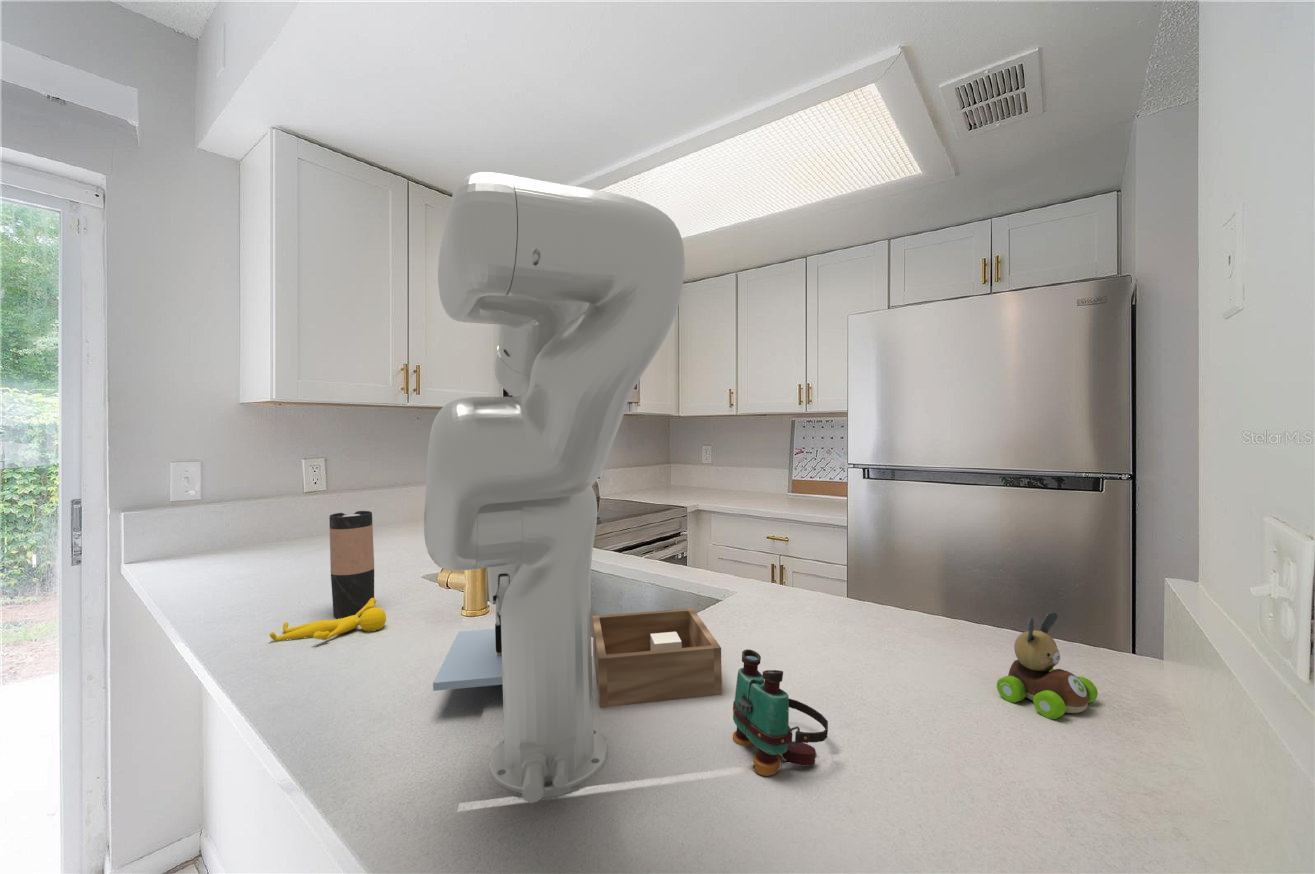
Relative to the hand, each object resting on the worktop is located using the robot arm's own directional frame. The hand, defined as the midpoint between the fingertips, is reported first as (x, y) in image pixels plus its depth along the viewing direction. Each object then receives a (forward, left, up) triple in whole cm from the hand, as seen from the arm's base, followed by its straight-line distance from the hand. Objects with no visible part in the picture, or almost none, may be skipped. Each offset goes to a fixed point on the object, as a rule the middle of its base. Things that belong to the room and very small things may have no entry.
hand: (509, 644), depth 78 cm
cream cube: (-1, -23, -5) cm, 23 cm away
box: (-3, -20, -6) cm, 21 cm away
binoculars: (-23, -31, -6) cm, 39 cm away
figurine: (+27, +34, -6) cm, 44 cm away
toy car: (-20, -69, -6) cm, 72 cm away
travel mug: (+38, +34, -6) cm, 51 cm away
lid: (0, 0, -2) cm, 2 cm away
